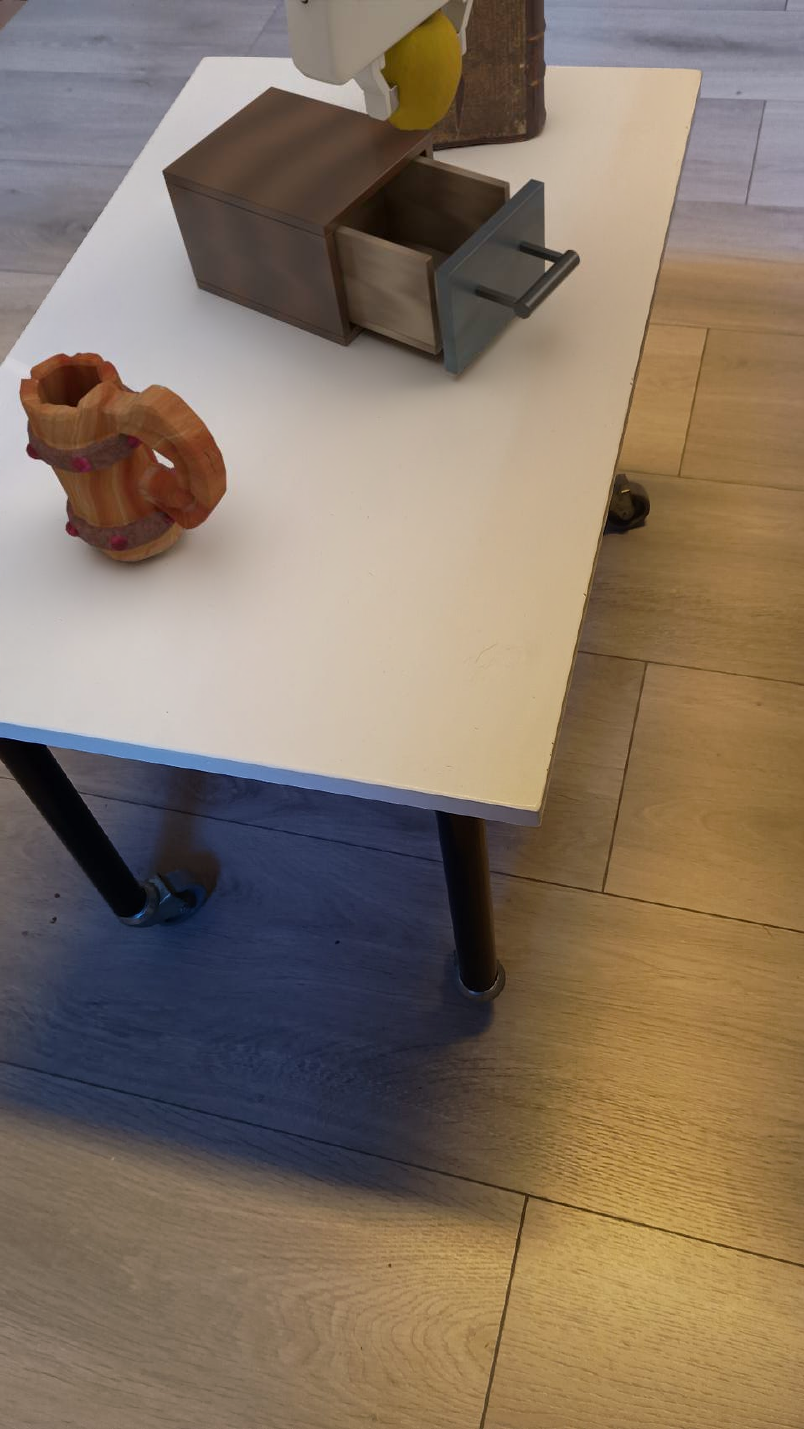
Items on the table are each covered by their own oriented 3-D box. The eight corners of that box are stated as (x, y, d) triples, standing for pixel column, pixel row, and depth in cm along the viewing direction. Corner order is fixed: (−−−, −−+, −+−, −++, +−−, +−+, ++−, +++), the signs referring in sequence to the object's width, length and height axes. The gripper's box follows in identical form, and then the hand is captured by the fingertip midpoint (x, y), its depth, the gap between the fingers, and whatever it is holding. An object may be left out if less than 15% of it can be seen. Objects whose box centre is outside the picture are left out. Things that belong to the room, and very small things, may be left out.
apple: (396, 160, 76) (381, 37, 70) (363, 118, 80) (345, -3, 73) (481, 131, 77) (474, 7, 70) (445, 90, 80) (435, -32, 74)
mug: (55, 554, 82) (-34, 393, 69) (119, 479, 85) (45, 314, 73) (219, 614, 77) (154, 453, 64) (279, 532, 80) (229, 364, 68)
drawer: (597, 302, 89) (601, 198, 82) (510, 396, 84) (506, 295, 77) (394, 233, 97) (380, 133, 90) (304, 315, 92) (282, 217, 85)
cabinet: (443, 254, 96) (431, 131, 87) (346, 346, 91) (323, 226, 82) (295, 204, 103) (271, 85, 94) (197, 287, 98) (161, 170, 89)
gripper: (325, -72, 59) (363, 175, 71) (533, -219, 67) (537, 25, 79) (238, -90, 62) (287, 151, 73) (448, -229, 70) (463, 8, 81)
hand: (418, 85), depth 76 cm, fingers closed on apple, 6 cm apart
